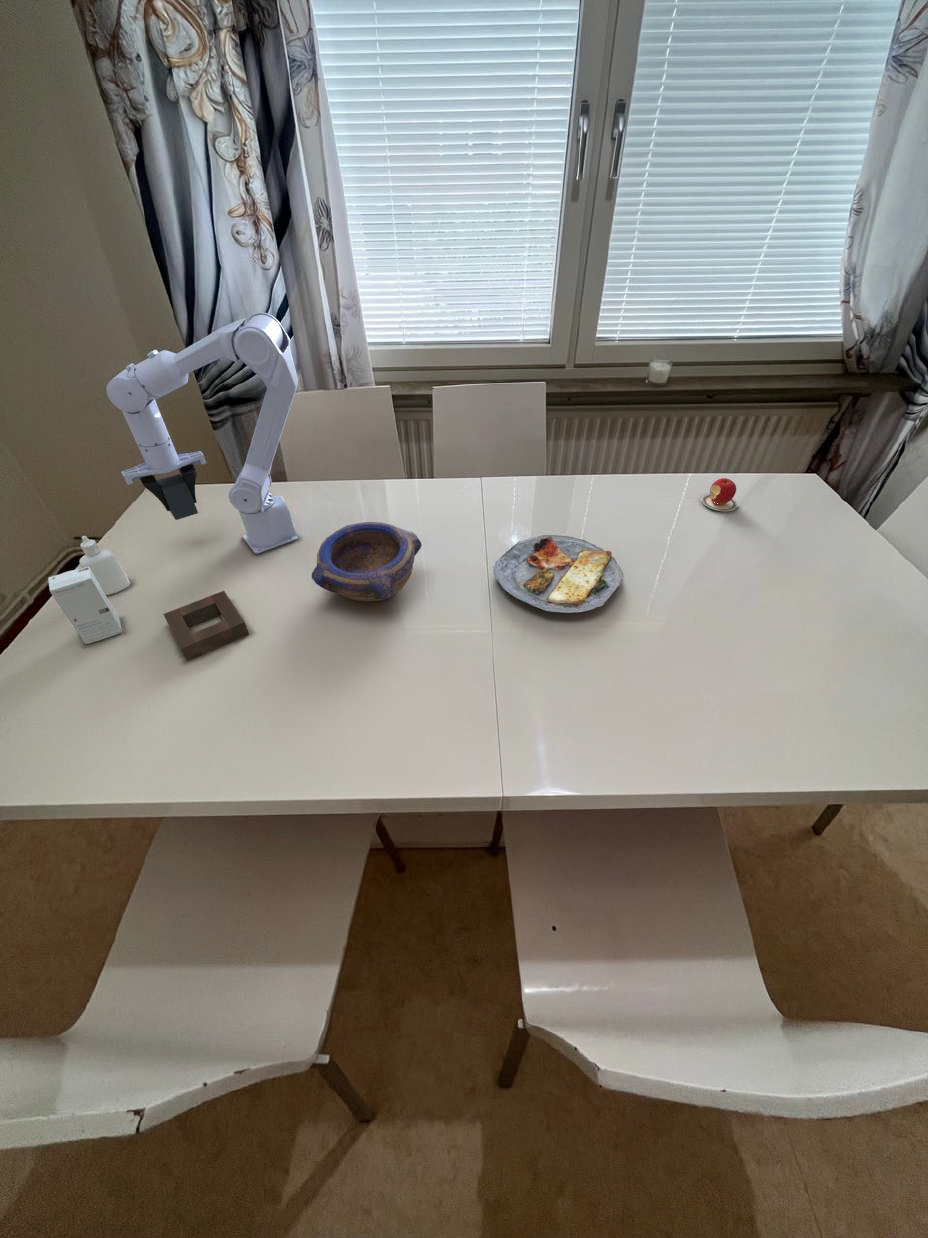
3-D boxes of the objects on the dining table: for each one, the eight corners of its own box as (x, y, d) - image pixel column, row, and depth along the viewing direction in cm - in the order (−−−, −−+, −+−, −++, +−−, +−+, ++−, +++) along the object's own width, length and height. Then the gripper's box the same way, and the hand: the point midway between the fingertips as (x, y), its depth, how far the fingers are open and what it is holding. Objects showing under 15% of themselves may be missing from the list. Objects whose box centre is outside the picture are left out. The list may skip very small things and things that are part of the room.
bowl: (306, 605, 96) (294, 562, 90) (353, 552, 109) (345, 511, 102) (392, 628, 92) (386, 585, 85) (431, 570, 104) (429, 528, 97)
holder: (229, 602, 97) (224, 590, 95) (249, 634, 91) (244, 621, 89) (169, 626, 92) (163, 613, 90) (186, 661, 86) (180, 648, 84)
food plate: (537, 531, 115) (538, 517, 112) (637, 567, 105) (641, 553, 102) (473, 589, 100) (474, 575, 97) (583, 638, 90) (586, 623, 88)
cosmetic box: (85, 646, 89) (46, 592, 80) (83, 630, 91) (45, 577, 83) (125, 632, 91) (91, 578, 83) (121, 617, 94) (88, 564, 86)
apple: (732, 516, 119) (742, 491, 115) (697, 506, 122) (705, 481, 118) (739, 501, 124) (749, 476, 120) (705, 492, 127) (714, 468, 123)
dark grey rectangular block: (192, 504, 109) (179, 473, 104) (198, 513, 106) (185, 482, 101) (169, 511, 107) (156, 480, 102) (175, 520, 104) (161, 489, 99)
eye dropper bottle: (103, 582, 101) (71, 531, 93) (133, 580, 102) (104, 528, 94) (95, 597, 98) (61, 545, 90) (126, 594, 99) (96, 542, 91)
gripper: (187, 424, 101) (211, 486, 111) (106, 443, 95) (138, 507, 104) (198, 436, 97) (221, 499, 106) (114, 456, 91) (146, 522, 100)
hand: (181, 504), depth 105 cm, fingers closed on dark grey rectangular block, 4 cm apart
